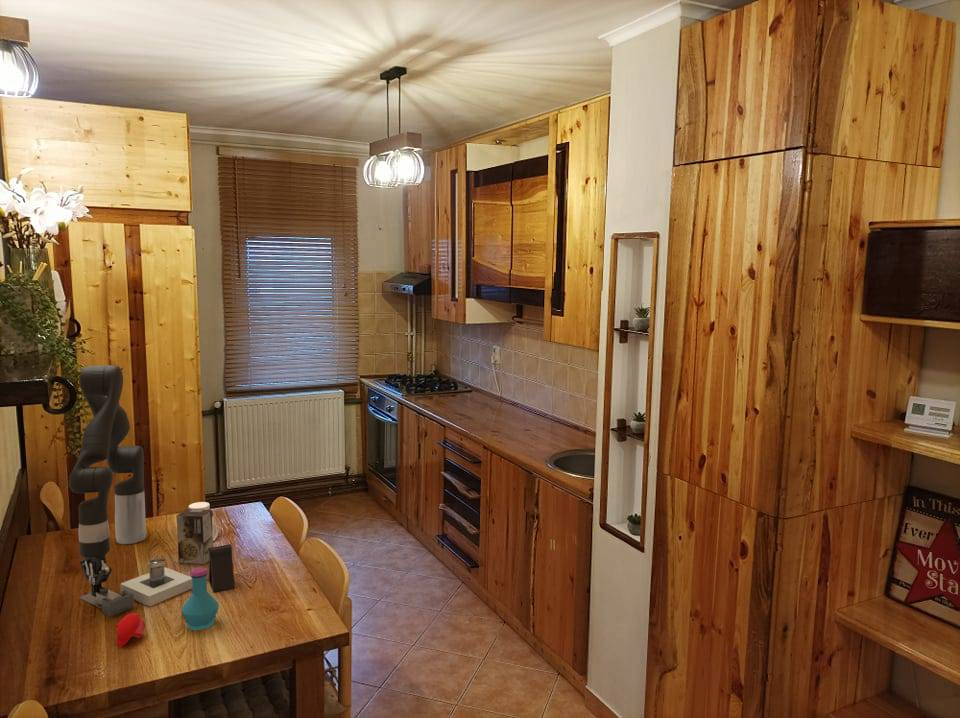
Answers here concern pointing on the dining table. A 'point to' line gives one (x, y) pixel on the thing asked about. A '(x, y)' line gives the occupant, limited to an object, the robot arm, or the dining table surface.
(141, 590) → the socket
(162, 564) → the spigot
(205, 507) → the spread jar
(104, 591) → the bolt
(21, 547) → the dining table surface
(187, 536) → the coffee box
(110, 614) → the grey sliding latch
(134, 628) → the cap
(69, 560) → the dining table surface
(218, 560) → the phone stand
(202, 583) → the perfume bottle
